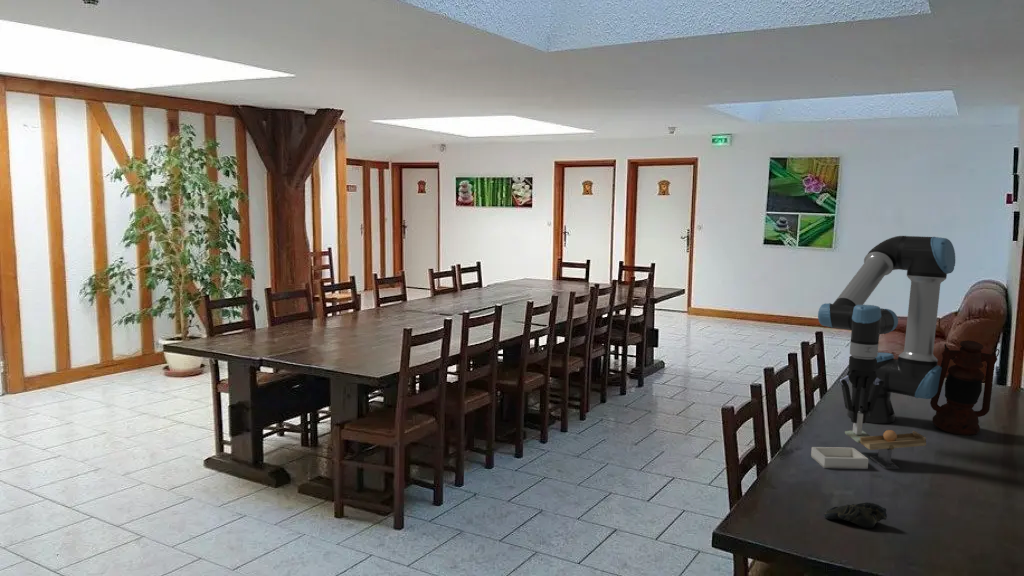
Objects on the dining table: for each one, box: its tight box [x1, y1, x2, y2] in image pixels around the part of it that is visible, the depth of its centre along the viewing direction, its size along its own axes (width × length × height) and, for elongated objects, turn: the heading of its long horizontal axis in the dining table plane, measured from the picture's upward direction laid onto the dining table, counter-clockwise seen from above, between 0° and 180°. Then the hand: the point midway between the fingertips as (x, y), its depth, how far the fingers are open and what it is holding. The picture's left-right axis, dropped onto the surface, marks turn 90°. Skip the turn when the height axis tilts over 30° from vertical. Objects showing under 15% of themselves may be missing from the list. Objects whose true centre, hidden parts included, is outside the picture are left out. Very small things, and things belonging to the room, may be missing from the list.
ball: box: [882, 429, 897, 442], centre depth 209 cm, size 4×4×4 cm
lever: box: [844, 429, 927, 451], centre depth 213 cm, size 16×16×2 cm
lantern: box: [929, 340, 1000, 436], centre depth 238 cm, size 17×14×30 cm
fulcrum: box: [869, 448, 900, 470], centre depth 210 cm, size 9×4×5 cm, turn 179°
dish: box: [810, 446, 869, 470], centre depth 210 cm, size 9×12×3 cm
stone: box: [823, 502, 888, 529], centre depth 171 cm, size 7×13×5 cm, turn 69°
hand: (857, 433), depth 218 cm, fingers closed
